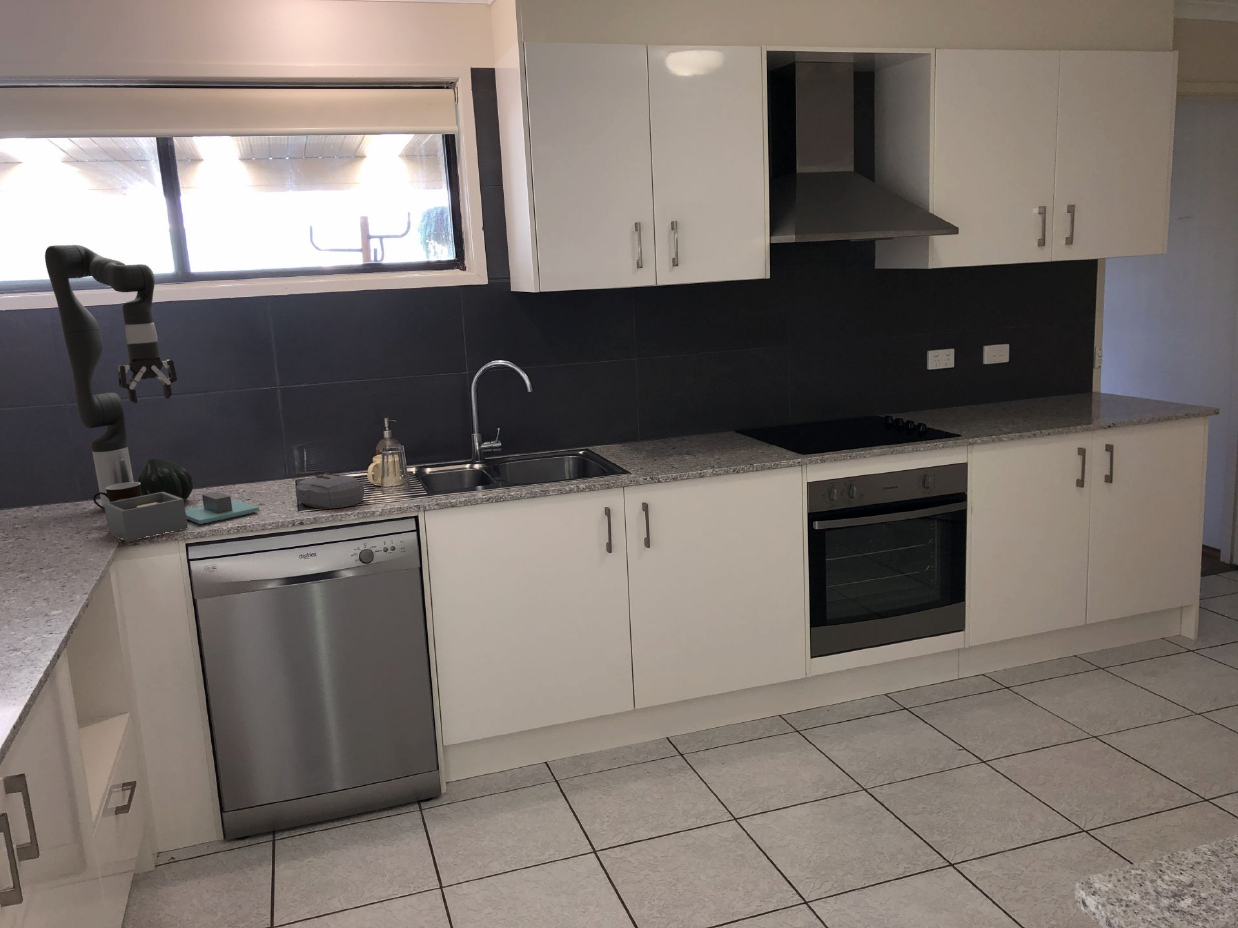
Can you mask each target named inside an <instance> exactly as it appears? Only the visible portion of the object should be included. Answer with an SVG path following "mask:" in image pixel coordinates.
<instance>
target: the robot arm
mask: <svg viewBox="0 0 1238 928" xmlns="http://www.w3.org/2000/svg"><path fill="white" fill-rule="evenodd" d="M44 252H45V253H44V259H45V260H44V261H45V268H46V271H47V274H48V278H49V282H50V284H51V288H52V291H53V294H54V296H55V300H56V304H57V307H58V312H59V317H60V322H61V327H62V333H63V338H64V342H65V346H66V350H67V354H68V356H69V357H68V358H69V362H70V366H71V370H72V375H73V382H74V389H75V397H76V405H77V411H78V415H79V419H80V421H81V423H82V425H83V426H84V427H85V428H86V429H95V428H102V427H107V428H106V430H105V432H104V433H102V434H101V435H100V436H98V437H97V438H95V439H93V440H92V441H91V444H90V445H91V452H92V456H93V457H92V458H93V463H94V466H95V467H94V468H95V475H96V479H97V484H98V485H97V486H98V490H99V493H100V492H103V493H107V492H106V487H108V486H111V485H115V484H120V483H128V482H135V481H134V475H133V470H132V464H131V459H130V452H129V448H128V447H129V446H128V431H127V424H126V415H125V408H124V404H123V401H122V399H121V397H120V395H119V394H117V393H116V392H105V393H98V394H97V393H96V394H94V392H93V377H94V373H95V371H96V368H97V366H98V363H99V362H100V360H101V356H102V354H103V349H104V343H103V338H102V332H101V328H100V324H99V322H98V321H97V319H96V317H94V315H93V314H92V313H91V312H90V311H89V310H88V309H87V308H86V307H85V306H84V305H83V304H82V303H81V301H80V300H79V299H78V298H77V296H76V295H75V292H74V291H73V288H72V286H71V283H70V279H83V278H88V277H92V278H93V279H94V280H95V281H96V282H98V283H100V284H102V285H106V286H109V287H111V288H112V289H113V291H115V292H118V293H136V296H135V298H134V299H133V300H130V301H126V302H125V303H123V305H122V315H123V321H124V326H125V327H124V328H125V329H124V333H125V341H126V346H127V352H128V360H129V363H128V364H127V365H125V364H124V365H122V364H118V365H117V378H118V386H119V387H120V388H123V389H126V390H127V394H128V400H129V401H130V402H131V403H132V404H138V398H137V391H136V389H135V387H136V386H137V384H138V383H139V382H140V380H147V379H155V378H157V379H158V380H160V382H162V389H163V394H164V399H171V397H172V394H173V393H172V386H171V385H172V383H175V382H177V381H178V377H177V372H176V369H175V363H174V362H175V361H174V360H173V359H166V360H162V359H161V355H160V348H159V341H158V338H159V337H158V335H157V333H158V332H157V329H156V326H155V321H154V315H153V299H154V297H153V296H154V291H155V285H156V284H155V283H156V281H155V274H154V272H153V269H152V268H151V267H150V266H149V265H146V264H144V263H143V264H141V263H140V264H138V263H137V264H126V263H124V262H122V261H120V260H116V259H112V258H109V257H108V258H107V257H104V256H102V255H100V254H98V253H96V252H94V251H93V250H91V249H89V248H88V247H86V246H84V245H79V244H66V245H65V244H63V245H60V244H59V245H58V244H55V245H50V246H49V245H48V247H46V250H45V251H44ZM163 366H164V369H165V368H166V369H167V374H168V377H167V376H166V375H165V374H164V373H163V372H162V371H161V370H162V368H163ZM129 371H131V373H132V375H131V376H130V379H129V381H127V373H129ZM127 382H128V383H127ZM99 496H100V501H101V506H103V507H104V503H109V502H110V501H109V499H108V498H107V497H106V496H105V495H102V494H100V495H99ZM102 510H103V511H105V510H104V509H102Z"/></svg>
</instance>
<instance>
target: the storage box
mask: <svg viewBox="0 0 1238 928" xmlns="http://www.w3.org/2000/svg"><path fill="white" fill-rule="evenodd" d="M184 501H185V500H183V499H182V498H179V497H177V496H174V495H171V494H168V493H166V492H159V493H154V494H149V495H144V496H139V497H134V498H129V499H124V500H119V501H114V502H109V503H104V507H105V510H104V511H105V512H104V513H105V517H106V518H105V519H106V523H107V528H108V534H109V535H111V536H113V537H116V538H118V537H119V538H118V539H120V538H123V539H124V540H125V541H126V542H125V541H124V542H125V543H132V542H135V540H136V541H138V540H137V539H138V538H144V537H146V536H153V535H156V534H163V533H165V532H171V531H176V532H178V531H177V530H180V529H185V530H187V529H186V528H188V529H189V525H188V519H187V518H186V512H185V510H186V507H185V502H184ZM180 531H181V530H180ZM163 535H164V534H163Z"/></svg>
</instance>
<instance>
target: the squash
mask: <svg viewBox="0 0 1238 928" xmlns="http://www.w3.org/2000/svg"><path fill="white" fill-rule="evenodd" d="M137 479H138V480H137V482H139V483H141V496H144V495H149V494H154V493H159V492H166V493H168V494H171V495H174V496H177V497H179V498H182V499H183V500H184V501H186V500H187V499H188V498H189V497H190V495H191V493H192V492H193V487H194V486H193V485H194V484H193V478H192V476H191V474H190V472H189V471H188V469H186V467H184V466H182V465H180V464H178V463H176V462H173V461H171V460H166V459H163V458H159V457H157V458H156V457H153V458H149V459H148V461H146V464H145V466H144V467H143V468H142V471H141V472H140V474H139V476H138V478H137Z"/></svg>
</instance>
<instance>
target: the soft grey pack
mask: <svg viewBox="0 0 1238 928" xmlns="http://www.w3.org/2000/svg"><path fill="white" fill-rule="evenodd" d="M364 495H365V487H364V485H363V484H362V482H360V481H359V480H358V479H356V478H355V477H354V476H349V475H345V474H340V473H333V472H324V474H321V475H319V474H315V476H313V477H309V478H304V479H302V480H301V481H298V482H297V484H296V487H295V496H296V498H297V501H299V503H301V504H303V505H304V506H306V507H311V508H315V509H322V510H325V509H327V510H328V509H342V508H346V507H351V506H354V505H357V504H359V503H360V504H361V503H362V501H363V500H364Z"/></svg>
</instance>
